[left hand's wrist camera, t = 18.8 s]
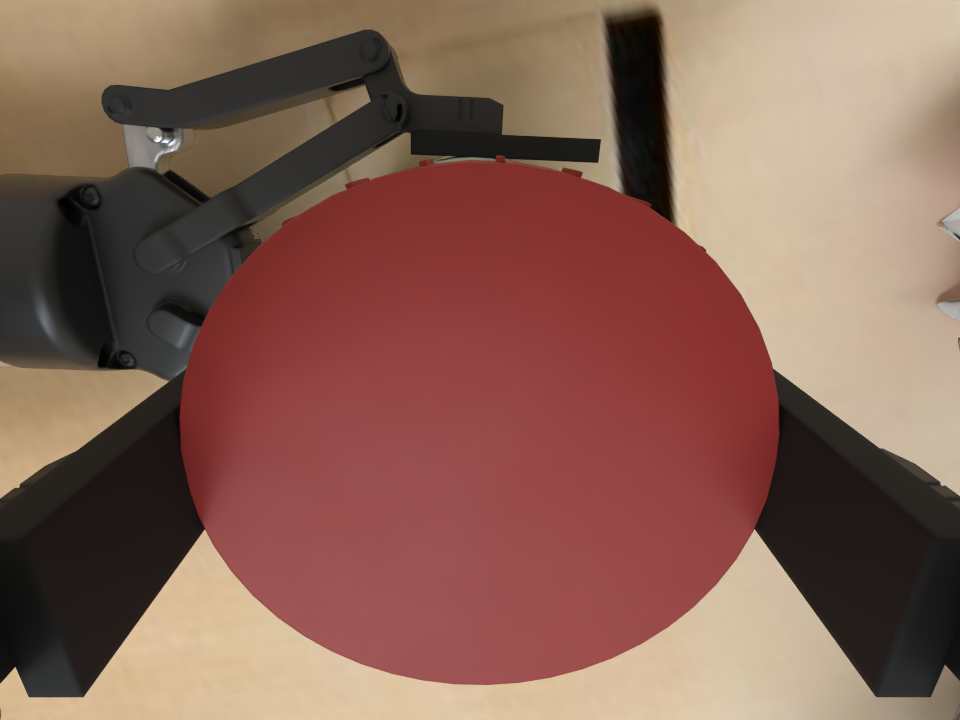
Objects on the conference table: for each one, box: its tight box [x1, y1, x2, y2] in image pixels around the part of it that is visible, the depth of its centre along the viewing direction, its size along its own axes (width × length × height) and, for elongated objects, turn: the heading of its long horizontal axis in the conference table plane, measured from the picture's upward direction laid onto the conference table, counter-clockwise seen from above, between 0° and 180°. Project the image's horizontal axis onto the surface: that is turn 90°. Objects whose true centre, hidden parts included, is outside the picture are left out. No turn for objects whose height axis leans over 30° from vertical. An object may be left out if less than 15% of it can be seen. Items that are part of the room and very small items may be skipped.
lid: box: [179, 156, 780, 685], centre depth 11 cm, size 11×11×2 cm
